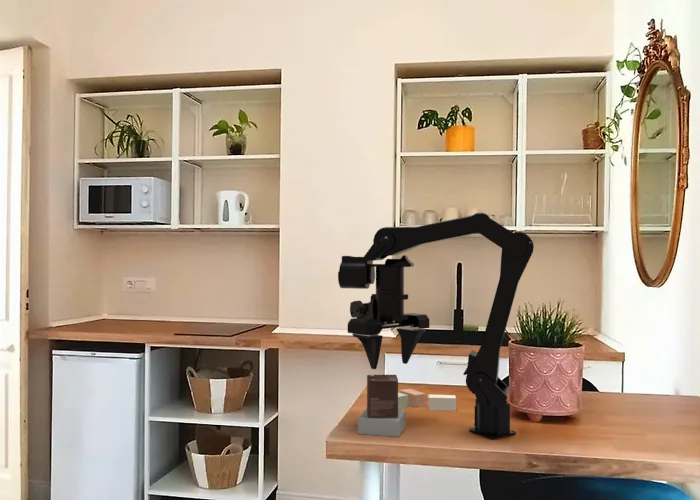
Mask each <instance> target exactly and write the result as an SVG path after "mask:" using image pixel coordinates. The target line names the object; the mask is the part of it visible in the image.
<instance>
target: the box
mask: <svg viewBox="0 0 700 500" xmlns="http://www.w3.org/2000/svg"><path fill="white" fill-rule="evenodd" d="M398 393H399V379H398V377H397V375H396V374H368V375H366V409H367V415H368V417H370V418H397V417H398Z"/></svg>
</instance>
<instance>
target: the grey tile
mask: <svg viewBox="0 0 700 500" xmlns="http://www.w3.org/2000/svg"><path fill="white" fill-rule="evenodd" d="M405 427H406V410H401V409H399V410H398V417H397V418H370V417H368V415H367V408H366V409H364V411H363V412H362V413H361V414H360V415H359V416H358V418H357V434H358V435H368V436H369V435H370V436H382V437H394V438H395V437H396V438H400V436H401V434H402V433H403V430H404V429H405Z"/></svg>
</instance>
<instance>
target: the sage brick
mask: <svg viewBox="0 0 700 500" xmlns="http://www.w3.org/2000/svg"><path fill="white" fill-rule="evenodd" d="M408 407H409V405H408V395H406V394H402V393H400V392H398V410H404V409H407V408H408Z"/></svg>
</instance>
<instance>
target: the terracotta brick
mask: <svg viewBox="0 0 700 500" xmlns="http://www.w3.org/2000/svg"><path fill="white" fill-rule="evenodd" d="M399 393H402V394H406V395H408V407H409V406H410V407H412V408H421V407H422V406H423V407H426V405H427V403H426V401H427V400H426V398H427V394H426V393H425V392H421V391H418V390H416V389H412V388H405V389H399ZM423 407H422V408H423Z"/></svg>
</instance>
